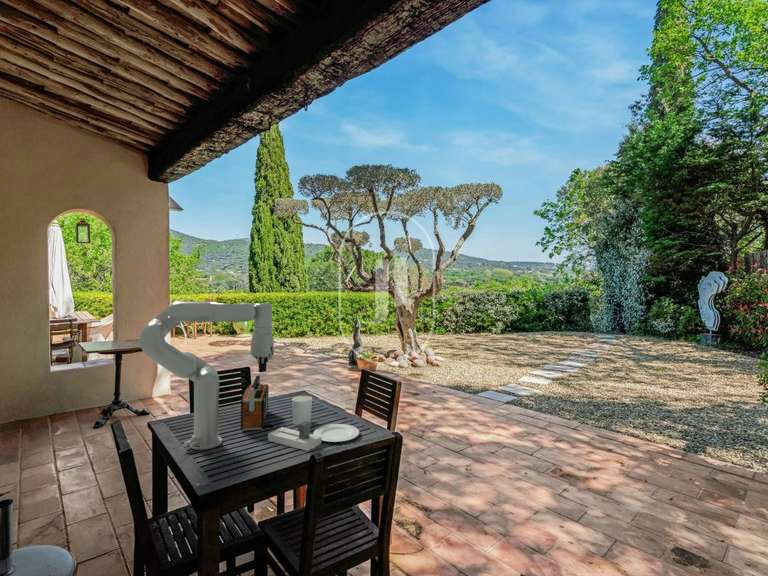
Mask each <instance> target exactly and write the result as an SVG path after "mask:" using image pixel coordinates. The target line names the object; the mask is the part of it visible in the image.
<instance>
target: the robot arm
mask: <svg viewBox="0 0 768 576" xmlns="http://www.w3.org/2000/svg"><path fill="white" fill-rule="evenodd" d="M272 318H273V306H272V304H271V303H268V302H257V303H251V302H246V301H245V302H241V303H219V302H216V301H183V300H176V301H173V302H172V303H171V304H170V305H168V306H167V307H166V308H165V309H164V310H163V311H161V312H160V313H158V314H157V315H156V316H155V317H154V318H152V319H151V320H150V321H148V322H147V323H146V324H145V325H144V327H143V328H142V330H141V334H140V338H139V342H140V348H141V350H142V352H143V354H144V355H145V356H146V357H148V358H149V359H150V360H152V361H153V362H154V363H157V364H158V365H159V366H161V367H163V368H164V369H165V370H167V371H169V372H170V373H171V374H174V376H176V377H178V378H180V379H188V380H190V381H192V382H193V397H194V398H193V403H194V404H193V435H191V438H190V439H189V440H186V441H184V442H183V444H182V445H183V447H184V448H185V447H188V446H189V448H191V449H193V450H197V451H200V450H201V451H204V450H205V451H206V450H209V449H210V450H211V449H214V448H216V447H219V446H221V444H222V443H223V438H222V437H220V436H219V423H220V421H219V412H220V411H219V407H220V405H219V404H220V403H219V402H220V401H219V398H220V396H219V395H220V377H219V374H218V371H217V369H216V368H215V367H214V366H213V365H211V364H209V363H208V362H206V361H205V360H203V359H201V358H200V357H198V356H197V355H195V354H194V353H192V352H188V351H181V350H180V349H177V348H176V347H175V346H174V345H172V344H170V343H168V342H167V341H166V339H165V338H166V337H167V335H168V334H169V333H170V332H171V331H173V330H174V329H175V328H176V327H178V326H179V325H180V324H181V323H221V322H223V323H238V322H242V323H243V322H250V321H252V320H253V321H254V322H253V328H252V329H253V333H252V335H251V342H250V355H251V356H252V358H253V359H256V362H257V364H258V372H259V373H265V372H267V363H268V361H270V360H273V358H274V357H273V356H274V353H275V352H274V351H275V345H274V342H275V341H274V336H273V333H272V329H273V327H272V326H273V325H272V323H273V321H272V320H273V319H272Z"/></svg>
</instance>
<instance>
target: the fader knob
mask: <svg viewBox="0 0 768 576" xmlns="http://www.w3.org/2000/svg"><path fill="white" fill-rule="evenodd" d="M311 427H312V422H311V421H310V422H309V421H304V422H302V423H300V424H298V425H297V430H298V431H299V438H300V439H305V438H307V437H309V436H310V434H311V432H310V431H311V429H310V428H311Z"/></svg>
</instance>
